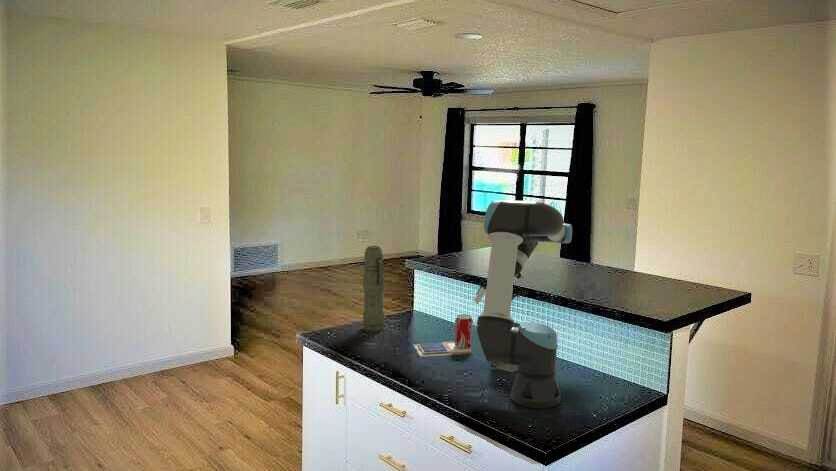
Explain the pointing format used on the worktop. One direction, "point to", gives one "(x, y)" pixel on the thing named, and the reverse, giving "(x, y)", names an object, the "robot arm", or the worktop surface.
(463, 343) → the soda can
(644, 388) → the worktop surface
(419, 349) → the blotter board
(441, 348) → the ink pad
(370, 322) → the thermos
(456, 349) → the orange bordered square plate
